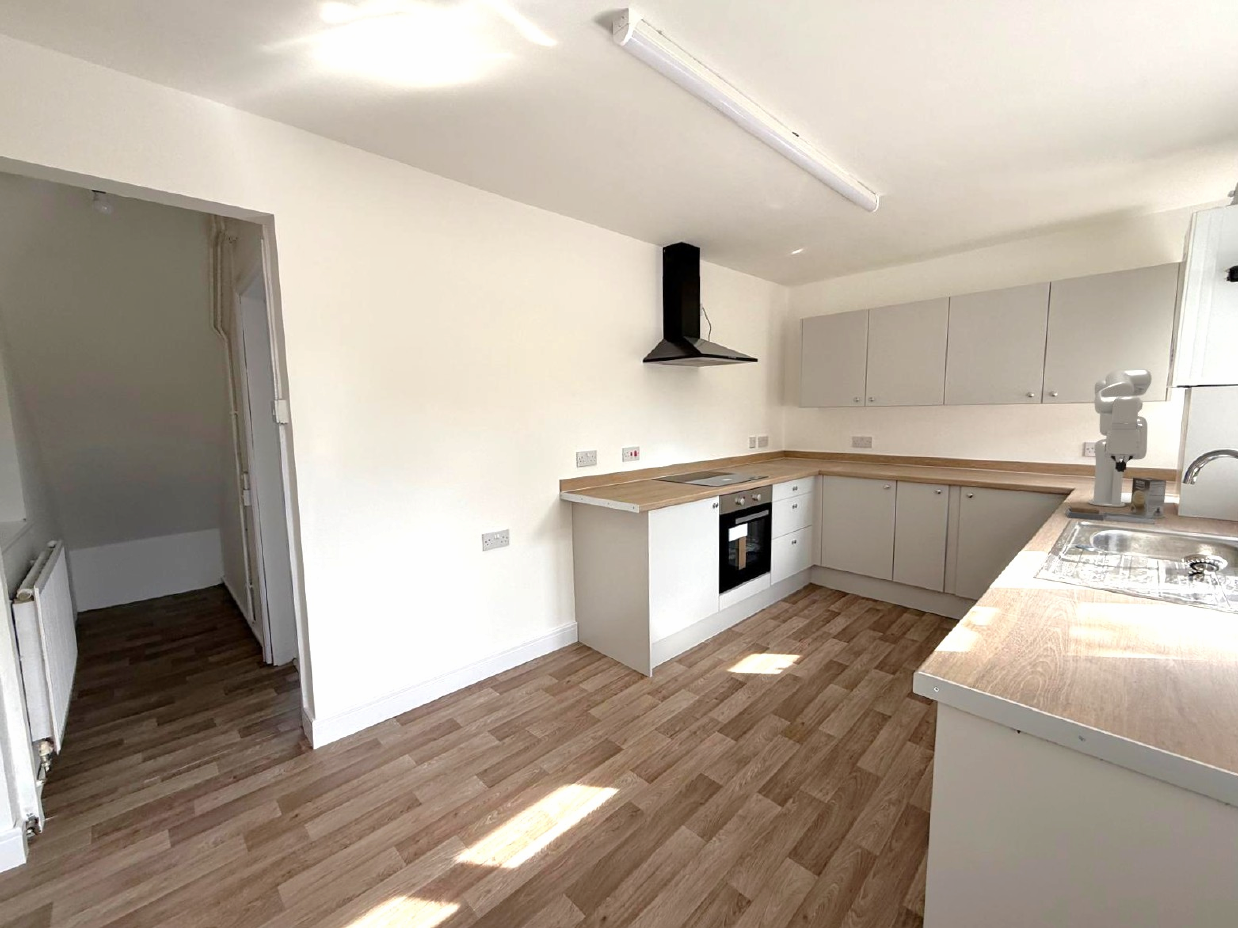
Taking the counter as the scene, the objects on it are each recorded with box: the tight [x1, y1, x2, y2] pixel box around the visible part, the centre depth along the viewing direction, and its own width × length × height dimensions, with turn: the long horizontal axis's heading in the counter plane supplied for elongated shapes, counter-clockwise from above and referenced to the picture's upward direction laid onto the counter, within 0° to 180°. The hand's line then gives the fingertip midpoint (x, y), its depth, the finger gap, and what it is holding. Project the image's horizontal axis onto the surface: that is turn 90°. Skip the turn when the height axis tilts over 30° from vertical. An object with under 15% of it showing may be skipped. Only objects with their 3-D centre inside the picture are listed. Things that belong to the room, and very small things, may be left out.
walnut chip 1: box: [1069, 505, 1084, 513], centre depth 217 cm, size 4×4×4 cm
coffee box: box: [1129, 477, 1167, 519], centre depth 215 cm, size 9×6×16 cm
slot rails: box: [1101, 511, 1156, 525], centre depth 208 cm, size 10×14×2 cm
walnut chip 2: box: [1082, 506, 1098, 514], centre depth 215 cm, size 4×4×4 cm
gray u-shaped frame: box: [1064, 507, 1104, 521], centre depth 216 cm, size 12×11×2 cm
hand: (1120, 471), depth 208 cm, fingers closed
